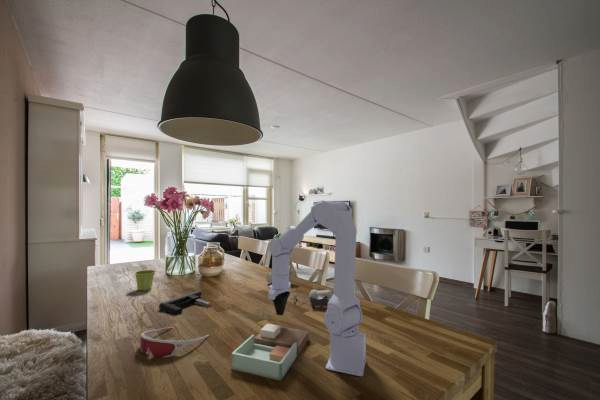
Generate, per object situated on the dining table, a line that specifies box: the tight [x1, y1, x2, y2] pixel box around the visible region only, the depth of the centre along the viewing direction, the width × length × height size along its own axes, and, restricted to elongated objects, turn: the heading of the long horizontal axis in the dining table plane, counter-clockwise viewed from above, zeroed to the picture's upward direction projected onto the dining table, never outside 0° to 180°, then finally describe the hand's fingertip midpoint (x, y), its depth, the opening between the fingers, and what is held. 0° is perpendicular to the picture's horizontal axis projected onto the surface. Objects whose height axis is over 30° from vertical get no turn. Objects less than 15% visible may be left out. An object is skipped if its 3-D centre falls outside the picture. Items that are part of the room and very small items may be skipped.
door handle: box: [158, 290, 211, 316], centre depth 114 cm, size 3×20×16 cm
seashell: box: [265, 266, 297, 284], centre depth 148 cm, size 10×15×10 cm
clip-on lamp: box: [292, 289, 333, 309], centre depth 118 cm, size 12×6×18 cm
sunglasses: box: [139, 326, 210, 358], centre depth 83 cm, size 17×17×5 cm
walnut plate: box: [254, 326, 309, 356], centre depth 83 cm, size 14×10×2 cm
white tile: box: [260, 323, 281, 339], centre depth 83 cm, size 4×4×2 cm
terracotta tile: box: [270, 346, 290, 362], centre depth 73 cm, size 4×4×2 cm
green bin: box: [230, 334, 298, 382], centre depth 72 cm, size 14×11×4 cm
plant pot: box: [134, 269, 157, 292], centre depth 137 cm, size 9×9×9 cm
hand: (280, 314), depth 91 cm, fingers closed
